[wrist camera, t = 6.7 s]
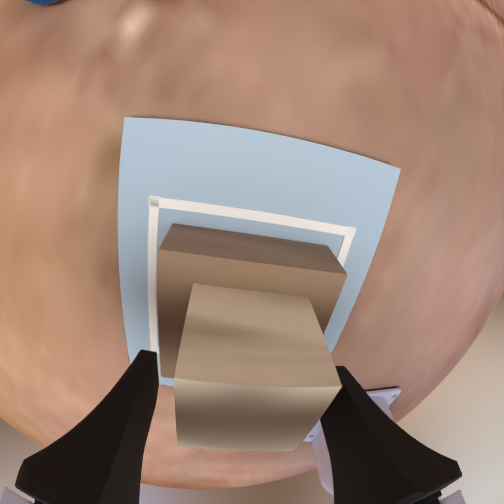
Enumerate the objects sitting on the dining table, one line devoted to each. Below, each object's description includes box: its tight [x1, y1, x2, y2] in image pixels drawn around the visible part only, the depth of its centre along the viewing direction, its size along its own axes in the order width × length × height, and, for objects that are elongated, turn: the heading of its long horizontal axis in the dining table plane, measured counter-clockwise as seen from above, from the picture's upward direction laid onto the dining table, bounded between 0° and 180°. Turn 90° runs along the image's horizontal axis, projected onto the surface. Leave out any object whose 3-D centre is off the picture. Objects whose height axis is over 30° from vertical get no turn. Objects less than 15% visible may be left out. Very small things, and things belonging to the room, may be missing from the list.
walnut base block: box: [158, 223, 348, 379], centre depth 14 cm, size 8×8×3 cm
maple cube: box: [174, 283, 342, 452], centre depth 11 cm, size 5×5×5 cm
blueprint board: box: [118, 117, 401, 386], centre depth 16 cm, size 18×14×1 cm
